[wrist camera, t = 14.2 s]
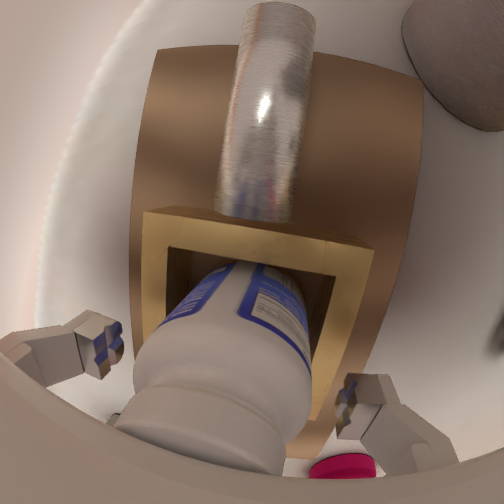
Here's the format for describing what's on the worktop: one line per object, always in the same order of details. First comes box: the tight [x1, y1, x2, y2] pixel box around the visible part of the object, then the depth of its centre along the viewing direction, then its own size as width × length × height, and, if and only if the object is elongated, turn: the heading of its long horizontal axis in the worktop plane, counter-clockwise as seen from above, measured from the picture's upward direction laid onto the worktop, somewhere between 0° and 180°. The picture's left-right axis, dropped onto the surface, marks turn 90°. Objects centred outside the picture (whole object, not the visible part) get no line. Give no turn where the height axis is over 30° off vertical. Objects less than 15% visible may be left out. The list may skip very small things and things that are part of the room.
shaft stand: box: [129, 2, 423, 460], centre depth 10 cm, size 26×14×9 cm, turn 172°
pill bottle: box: [113, 258, 312, 476], centre depth 9 cm, size 5×5×10 cm
